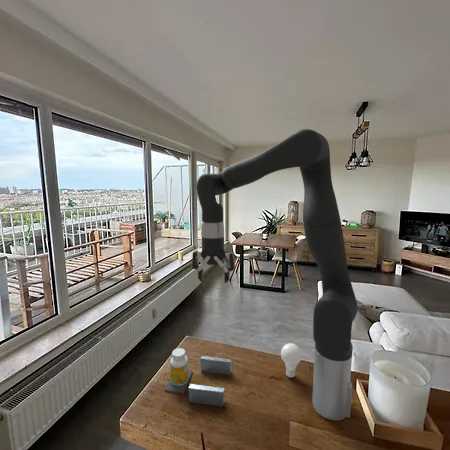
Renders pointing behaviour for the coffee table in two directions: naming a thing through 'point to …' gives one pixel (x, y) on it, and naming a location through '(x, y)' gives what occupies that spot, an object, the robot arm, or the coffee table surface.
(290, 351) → the lightbulb
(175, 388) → the gray rectangular block
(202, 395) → the grey bricks
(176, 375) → the supplement bottle
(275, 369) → the coffee table surface
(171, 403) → the coffee table surface
